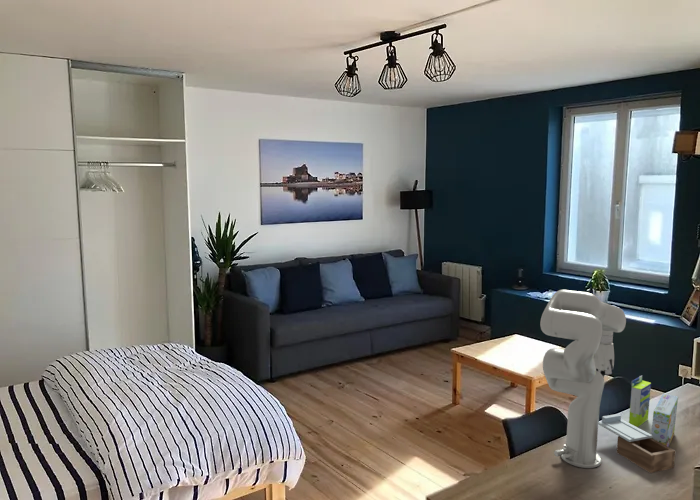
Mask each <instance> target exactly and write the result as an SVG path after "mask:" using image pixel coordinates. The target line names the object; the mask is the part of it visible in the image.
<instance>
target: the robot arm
mask: <svg viewBox="0 0 700 500" xmlns="http://www.w3.org/2000/svg"><path fill="white" fill-rule="evenodd" d="M626 323H627V317H626V313H625V312H624V310H623V309H622V308H620V307H618V306H616V305H611V304H610V303H607V302H603V301H601V300H600V299H599V298H598V296H596V295H595V294H594V293H590V292H587V291H580V290H578V291H577V290H569V289H559V290H557V291H555V292H554V294H552V296H551V298H550V299H549V301H548V303H547V304H546V306H545V308H544V310H543V312H542V314H541V318H540V324H539V325H540V330H541V331H542V333H543V334H545V335H546V336H550V337H555V338H559V339H560V338H562V339H567V340H573V341H572V342H570V343H569V344H568V345H567V346H566V347H565V348H564V349H562V348H561V349H560V348H550V349H548V350H546V352H545V354H544V356H543V359H542V372H543V374H544V377H545V380H546V382H547V384H548V387H549V388H550V390H552V391H554V392H558V393H562V394H566V395H567V394H568V395H571V396H575V397H576V398H575V399H573V400H572V401H571V402H570V404H569V405H568V409H567V424H566V441H565V442H566V443H565V444H563V446H562V448H561V449H556V450H554V451H553V454H554V456H555V457H560V458H561V459H562V460H563V461H564V462H566V463H568V464H569V465H571V466H574V467H579V468H583V469H592V468H593V469H594V468H596V467H599V466H600V465H601V464H602V458H601V456H600V455H599V454H598V453H597V451H598V435H599V434H598V431H599V424H598V423H599V422H600V406H601V401H602V396H603V391H604V387H605V376H606V375H612V374H613V372H612V370H614V365H615V349H614V343H613V339H614V338H613V337H614V333H622V332H623V331H624V330H625V328H626Z"/></svg>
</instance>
